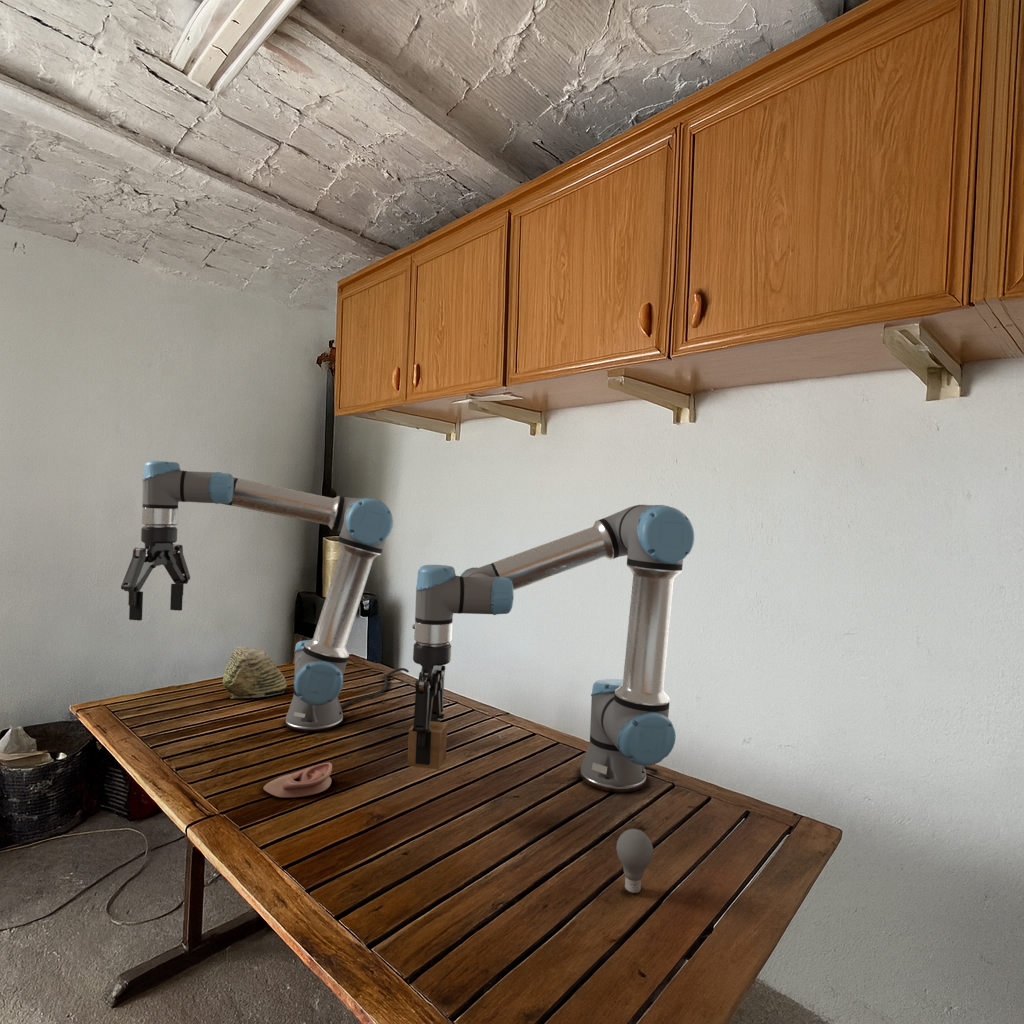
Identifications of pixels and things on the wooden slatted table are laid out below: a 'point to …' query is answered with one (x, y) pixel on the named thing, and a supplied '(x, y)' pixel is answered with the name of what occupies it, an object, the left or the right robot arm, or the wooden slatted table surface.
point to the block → (436, 746)
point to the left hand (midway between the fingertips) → (156, 614)
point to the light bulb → (634, 857)
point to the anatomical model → (301, 782)
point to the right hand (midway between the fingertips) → (427, 756)
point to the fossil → (252, 674)
